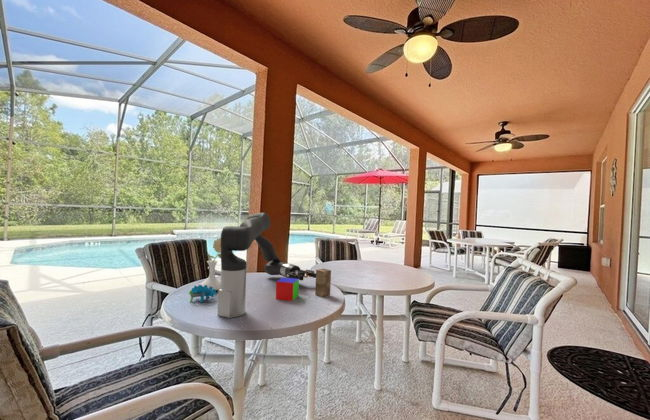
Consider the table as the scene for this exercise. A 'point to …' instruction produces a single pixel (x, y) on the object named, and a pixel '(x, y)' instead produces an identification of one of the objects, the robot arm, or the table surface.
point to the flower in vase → (213, 268)
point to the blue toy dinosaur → (202, 292)
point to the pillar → (323, 282)
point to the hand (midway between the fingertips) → (309, 277)
